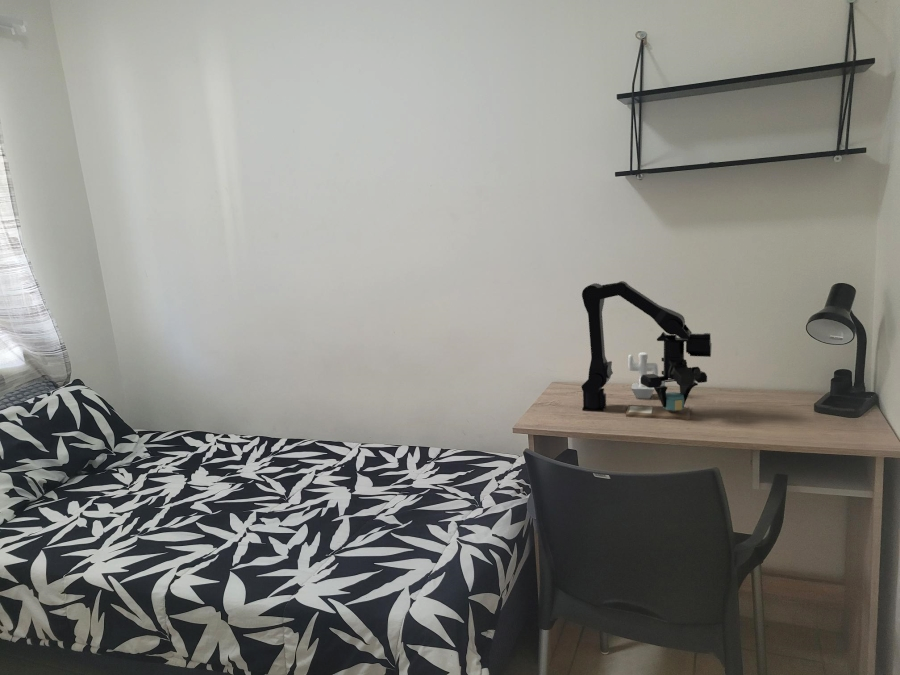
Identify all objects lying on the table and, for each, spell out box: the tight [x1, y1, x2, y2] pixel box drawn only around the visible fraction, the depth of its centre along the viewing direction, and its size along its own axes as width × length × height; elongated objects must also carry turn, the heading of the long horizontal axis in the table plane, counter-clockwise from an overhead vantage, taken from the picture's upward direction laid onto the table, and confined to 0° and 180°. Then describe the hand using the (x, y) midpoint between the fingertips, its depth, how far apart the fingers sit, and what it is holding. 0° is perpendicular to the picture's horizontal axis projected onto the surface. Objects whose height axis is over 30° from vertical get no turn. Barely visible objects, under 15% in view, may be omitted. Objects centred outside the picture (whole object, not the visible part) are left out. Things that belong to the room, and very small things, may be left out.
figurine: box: [627, 351, 659, 400], centre depth 206 cm, size 7×9×15 cm
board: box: [625, 404, 691, 421], centre depth 188 cm, size 18×10×5 cm, turn 69°
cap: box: [663, 391, 685, 410], centre depth 186 cm, size 6×6×4 cm
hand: (673, 406), depth 187 cm, fingers closed on cap, 6 cm apart
